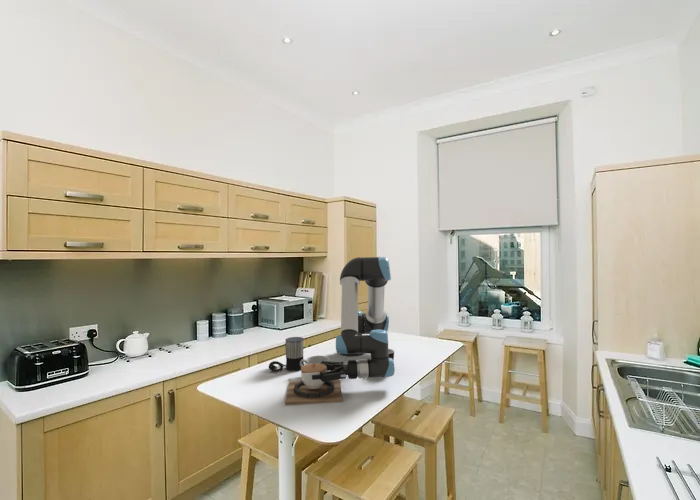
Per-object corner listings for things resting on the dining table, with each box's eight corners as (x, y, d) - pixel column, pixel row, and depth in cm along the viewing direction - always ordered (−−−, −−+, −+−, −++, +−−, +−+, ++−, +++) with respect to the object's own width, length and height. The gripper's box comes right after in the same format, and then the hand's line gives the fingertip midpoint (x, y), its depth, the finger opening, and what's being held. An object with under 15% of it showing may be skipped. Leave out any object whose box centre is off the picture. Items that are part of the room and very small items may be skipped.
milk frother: (308, 367, 172) (307, 338, 173) (283, 377, 160) (282, 345, 160) (289, 362, 182) (289, 334, 182) (265, 370, 169) (264, 340, 170)
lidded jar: (305, 393, 135) (304, 369, 135) (298, 383, 145) (297, 361, 145) (330, 388, 139) (330, 365, 139) (322, 379, 149) (321, 358, 149)
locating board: (289, 383, 152) (289, 377, 152) (339, 380, 154) (339, 375, 154) (285, 405, 130) (284, 398, 130) (342, 401, 132) (342, 395, 132)
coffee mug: (394, 375, 159) (393, 354, 159) (375, 374, 160) (375, 353, 160) (395, 367, 170) (395, 347, 170) (378, 366, 172) (378, 346, 172)
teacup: (333, 373, 164) (332, 356, 164) (324, 381, 154) (323, 363, 154) (306, 370, 168) (306, 354, 168) (296, 378, 158) (295, 361, 158)
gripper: (360, 389, 132) (303, 392, 130) (354, 368, 155) (305, 371, 153) (360, 369, 132) (302, 372, 130) (354, 352, 155) (305, 354, 153)
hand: (304, 372), depth 142 cm, fingers closed on lidded jar, 11 cm apart
